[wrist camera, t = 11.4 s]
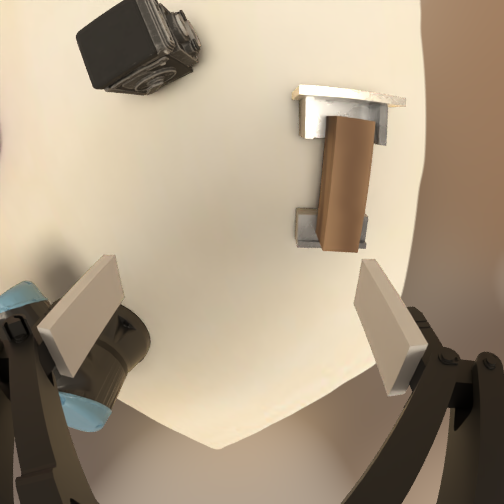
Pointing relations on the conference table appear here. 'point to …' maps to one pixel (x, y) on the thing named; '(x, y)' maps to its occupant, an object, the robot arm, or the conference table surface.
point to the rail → (344, 182)
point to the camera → (138, 47)
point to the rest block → (307, 229)
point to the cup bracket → (342, 109)
